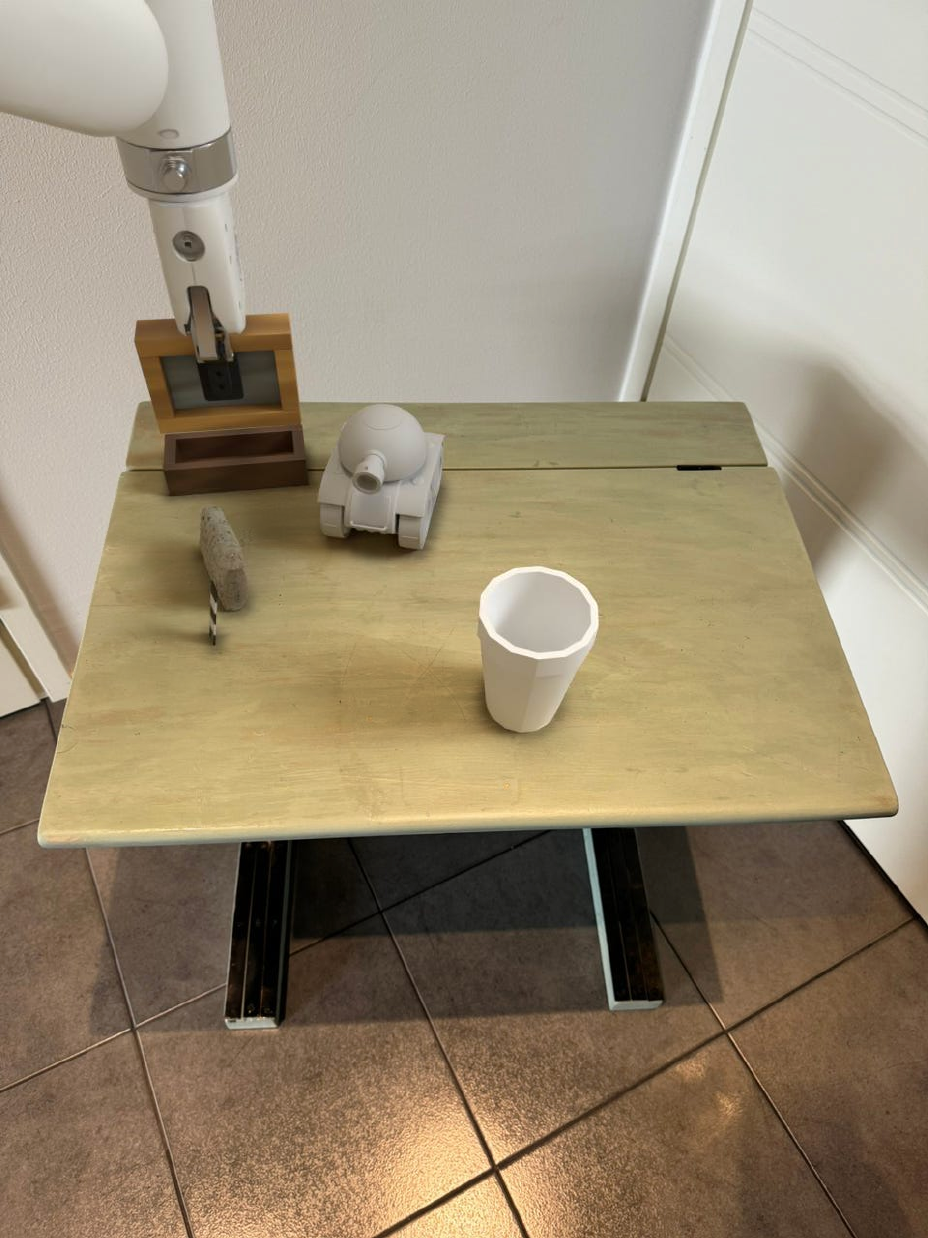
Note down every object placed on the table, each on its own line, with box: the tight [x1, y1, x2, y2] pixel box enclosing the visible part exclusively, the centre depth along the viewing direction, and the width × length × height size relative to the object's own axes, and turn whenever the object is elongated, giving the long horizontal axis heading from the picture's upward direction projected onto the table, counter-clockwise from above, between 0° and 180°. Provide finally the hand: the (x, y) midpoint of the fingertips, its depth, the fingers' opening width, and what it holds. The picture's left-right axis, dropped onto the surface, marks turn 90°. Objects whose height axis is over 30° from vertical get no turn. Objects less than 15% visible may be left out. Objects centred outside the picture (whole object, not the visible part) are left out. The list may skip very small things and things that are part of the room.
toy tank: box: [316, 403, 446, 550], centre depth 84 cm, size 15×11×13 cm
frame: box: [133, 312, 302, 434], centre depth 70 cm, size 3×12×9 cm, turn 100°
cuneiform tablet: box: [198, 506, 251, 646], centre depth 79 cm, size 7×4×12 cm
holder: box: [162, 423, 310, 497], centre depth 91 cm, size 15×6×4 cm, turn 101°
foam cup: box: [476, 565, 600, 734], centre depth 70 cm, size 10×9×13 cm
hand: (224, 383), depth 71 cm, fingers closed on frame, 2 cm apart
